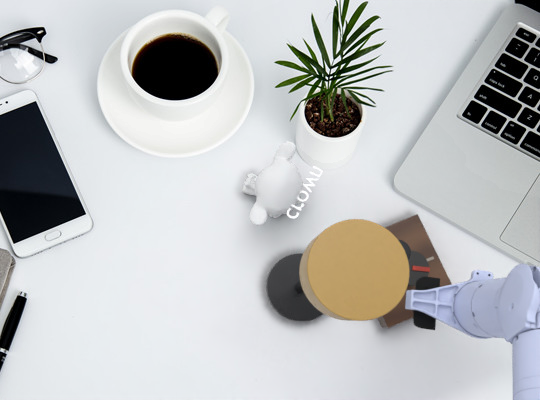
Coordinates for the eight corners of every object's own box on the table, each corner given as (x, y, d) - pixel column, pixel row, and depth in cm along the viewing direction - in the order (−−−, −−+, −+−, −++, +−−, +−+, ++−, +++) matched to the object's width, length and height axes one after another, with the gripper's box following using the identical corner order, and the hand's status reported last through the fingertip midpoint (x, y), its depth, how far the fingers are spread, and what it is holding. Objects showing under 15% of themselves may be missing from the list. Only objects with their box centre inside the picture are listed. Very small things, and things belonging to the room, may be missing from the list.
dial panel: (450, 299, 82) (459, 298, 79) (382, 327, 82) (388, 328, 79) (410, 217, 84) (418, 213, 81) (344, 244, 84) (348, 242, 81)
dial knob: (385, 285, 80) (393, 283, 76) (387, 251, 81) (395, 248, 77) (419, 288, 80) (429, 287, 76) (421, 255, 80) (431, 252, 77)
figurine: (233, 225, 87) (298, 249, 83) (214, 208, 80) (285, 233, 75) (265, 150, 89) (331, 170, 85) (250, 126, 82) (321, 146, 77)
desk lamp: (343, 305, 83) (510, 292, 36) (271, 335, 82) (343, 361, 35) (316, 244, 84) (440, 153, 37) (245, 273, 84) (280, 218, 37)
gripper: (579, 277, 60) (513, 284, 73) (427, 257, 61) (390, 267, 74) (577, 351, 58) (510, 344, 72) (422, 329, 59) (385, 327, 73)
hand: (449, 309), depth 73 cm, fingers open, 7 cm apart
